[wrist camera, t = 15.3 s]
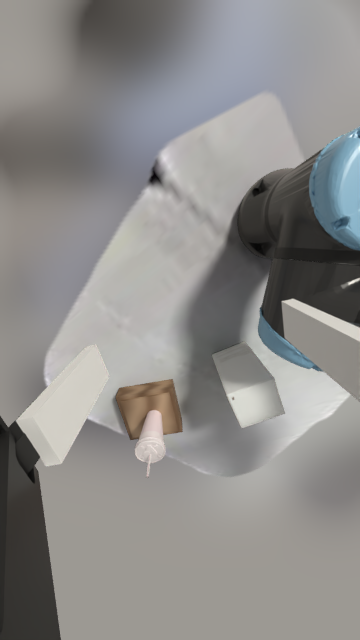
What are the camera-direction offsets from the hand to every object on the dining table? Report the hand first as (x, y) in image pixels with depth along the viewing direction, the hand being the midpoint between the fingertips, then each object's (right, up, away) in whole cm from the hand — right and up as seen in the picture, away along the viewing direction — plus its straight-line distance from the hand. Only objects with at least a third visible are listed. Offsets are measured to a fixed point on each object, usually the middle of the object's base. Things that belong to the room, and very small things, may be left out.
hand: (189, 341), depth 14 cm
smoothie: (-7, -22, +37) cm, 44 cm away
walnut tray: (-8, -21, +40) cm, 46 cm away
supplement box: (+13, -9, +37) cm, 40 cm away
